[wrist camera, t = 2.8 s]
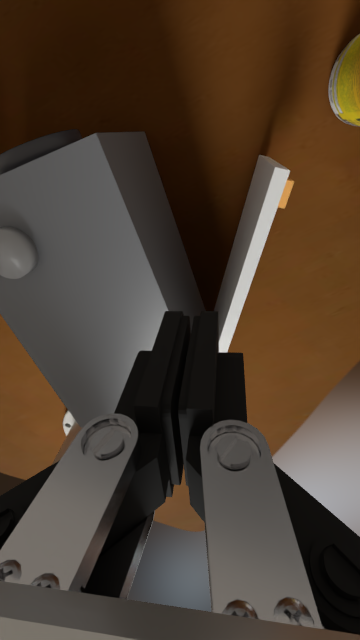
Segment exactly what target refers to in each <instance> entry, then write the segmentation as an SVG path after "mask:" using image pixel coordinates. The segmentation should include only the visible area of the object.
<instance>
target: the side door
mask: <svg viewBox="0 0 360 640" xmlns="http://www.w3.org/2000/svg"><path fill="white" fill-rule="evenodd" d="M289 173H290V170H289V169H287V168H286V167H284V166H282V165H281V164H279V163H278V162H276V161H275V160H273V159H272V158H270V157H267V156H263V155H259V157H258V160H257V164H256V167H255V170H254V174H253V177H252V181H251V184H250V188H249V191H248V195H247V198H246V201H245V205H244V208H243V212H242V215H241V219H240V222H239V225H238V229H237V232H236V236H235V239H234V243H233V246H232V250H231V253H230V256H229V260H228V263H227V267H226V270H225V274H224V277H223V280H222V284H221V287H220V291H219V294H218V298H217V301H216V305H215V308H214V311H218V317H219V352H227V351H228V348H229V345H230V342H231V340H232V337H233V334H234V331H235V328H236V325H237V322H238V319H239V317H240V314H241V311H242V308H243V305H244V302H245V299H246V296H247V294H248V291H249V288H250V285H251V282H252V279H253V276H254V273H255V271H256V268H257V265H258V262H259V259H260V256H261V253H262V250H263V247H264V245H265V242H266V239H267V236H268V233H269V230H270V227H271V224H272V222H273V219H274V216H275V213H276V210H277V207H280V208H284V209H285V206H286V203H287V201H288V198H289V195H290V192H291V189H292V187H293V184H294V181H293V180H291V179H290V178H289V177H288V176H289Z"/></svg>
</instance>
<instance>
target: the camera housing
mask: <svg viewBox="0 0 360 640" xmlns="http://www.w3.org/2000/svg"><path fill="white" fill-rule="evenodd" d="M165 311H183V314H184V316H189V317H190V328H191V330H192V325H193V319H194V316H200V314H201V311H206V310H205V307H204V304H203V301H202V298H201V296H200V293H199V290H198V287H197V284H196V281H195V278H194V275H193V272H192V269H191V266H190V263H189V260H188V258H187V255H186V252H185V249H184V246H183V243H182V240H181V237H180V234H179V231H178V228H177V225H176V222H175V219H174V217H173V214H172V211H171V208H170V205H169V202H168V199H167V196H166V193H165V190H164V187H163V184H162V181H161V179H160V176H159V173H158V170H157V167H156V164H155V161H154V158H153V155H152V152H151V149H150V146H149V143H148V140H147V138H146V135H145V132H108V133H94V134H92V135H90V136H88V137H85V138H83V139H82V136H81V134H80V132H79V130H77V129H72V130H66V131H61V132H57V133H53V134H50V135H46V136H43V137H40V138H37V139H34V140H32V141H29V142H26V143H24V144H21V145H19V146H17V147H14V148H12V149H10V150H8V151H6V152H4V153H2V154H0V314H1V315H2V317H3V318H4V320H5V321H6V322H7V324H8V325H9V327H10V328H11V330H12V331H13V332H14V334H15V335H16V337H17V338H18V340H19V341H20V342H21V344H22V345H23V347H24V348H25V349H26V351H27V352H28V354H29V355H30V357H31V358H32V359H33V361H34V362H35V364H36V365H37V366H38V368H39V369H40V371H41V372H42V374H43V375H44V376H45V378H46V379H47V381H48V382H49V384H50V385H51V386H52V388H53V389H54V391H55V392H56V393H57V395H58V396H59V398H60V399H61V401H62V402H63V403H64V405H65V406H66V408H67V409H68V410H69V412H70V413H71V415H72V416H73V418H74V419H75V420H76V422H77V423H78V425H79V426H80V428H81V427H84V425H86V424H87V423H88V422H90V421H91V420H92V419H94V418H97V417H99V416H101V415H105V414H111V413H114V412H115V410H116V407H117V404H118V402H119V399H120V397H121V394H122V392H123V389H124V387H125V384H126V382H127V379H128V377H129V374H130V372H131V369H132V367H133V364H134V362H135V359H136V357H137V354H138V352H139V351H152V348H153V346H154V343H155V340H156V337H157V334H158V331H159V328H160V325H161V322H162V319H163V316H164V313H165Z"/></svg>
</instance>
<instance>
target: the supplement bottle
mask: <svg viewBox="0 0 360 640" xmlns="http://www.w3.org/2000/svg"><path fill="white" fill-rule="evenodd" d="M328 92H329V101H330V104H331V107H332V109H333V111H334V113H335V114H336V116H337V117H338V118H339V119H340V120H342V121H343V122H345V123H347V124H349V125H353V126H360V34H358V35H357V36H356V37H355V38H354V39H352V40H351V41H350V42H349V44H348V45H347V46H346V47H345V48H344V50H343V51H342V52H341V54H340V55H339V57H338V59H337V60H336V62H335V65H334V67H333V69H332V72H331V76H330V80H329V89H328Z"/></svg>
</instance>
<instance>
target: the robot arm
mask: <svg viewBox="0 0 360 640" xmlns="http://www.w3.org/2000/svg"><path fill="white" fill-rule="evenodd" d="M63 428H64V431H65V433H66V435H67V437H66V439H65V440H64V442H63V444H62V446H61V448H60V450H59V452H58V454H57V456H56V458H55V460H54V462H53V464H52V465H51V466H49V467H48V468H46V469H44V470H43V471H41V472H39V473H38V474H36V475H34V476H33V477H31V478H29V479H28V480H26V481H24V482H23V483H21V484H20V485H18V486H16V487H15V488H13V489H11V490H9V491H8V492H6V493H5V494H3V495H1V496H0V640H360V537H359V536H358V535H357V534H356V533H354V532H353V531H352V530H351V529H350V528H349V527H347V526H346V525H345V524H344V523H343V522H342V521H340V520H339V519H338V518H337V517H336V516H335V515H333V514H332V513H331V512H330V511H329V510H328V509H326V508H325V507H324V506H323V505H322V504H321V503H319V502H318V501H317V500H316V499H315V498H314V497H312V496H311V495H310V494H309V493H308V492H307V491H305V490H304V489H303V488H302V487H301V486H300V485H298V484H297V483H296V482H295V481H294V480H293V479H291V478H290V477H289V476H288V475H287V474H285V472H283V471H282V470H281V469H280V468H279V467H277V466H276V465H275V464H274V463H273V459H272V456H271V453H270V449H269V446H268V444H267V441H266V439H265V437H264V436H263V435H262V434H261V432H260V431H259V430H258V429H257V428H255V427H253V426H252V425H250V424H249V423H247V410H246V394H245V378H244V361H243V353H227V352H219V317H218V311H201V314H200V316H194V319H193V325H192V330H191V328H190V317H189V316H184V314H183V311H165V313H164V316H163V319H162V322H161V325H160V328H159V331H158V334H157V337H156V340H155V343H154V346H153V348H152V351H139V352H138V354H137V357H136V359H135V362H134V364H133V367H132V369H131V372H130V374H129V377H128V379H127V382H126V384H125V387H124V389H123V392H122V394H121V397H120V399H119V402H118V404H117V407H116V410H115V412H114V413H111V414H105V415H101V416H99V417H97V418H94V419H92V420H91V421H90V422H88V423H87V424H86V425H84V427H81V428H80V426H79V425H78V423H77V422H76V420H75V419H74V418H73V416H72V415H71V413H70V412H69V410H68V411H67V412H66V414H65V416H64V419H63ZM183 465H184V470H185V479H186V485H187V486H189V496H190V505H191V506H192V507H193V508H194V510H195V511H196V512H197V513H198V515H199V516H200V517H201V519H202V520H203V521H204V522H205V533H206V547H207V559H208V571H209V572H208V573H209V585H210V598H211V611H212V612H208V611H201V610H194V609H187V608H181V607H174V606H167V605H161V604H154V603H147V602H141V601H134V600H127V597H128V594H129V591H130V588H131V585H132V582H133V579H134V576H135V573H136V570H137V567H138V564H139V561H140V558H141V555H142V552H143V549H144V546H145V543H146V540H147V537H148V534H149V531H150V528H151V525H152V522H153V518H154V513H155V510H156V509H157V508H158V507H159V506H161V505H162V504H163V503H164V502H165V499H166V497H172V494H173V487H174V484H175V485H180V484H181V480H182V473H183Z"/></svg>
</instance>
